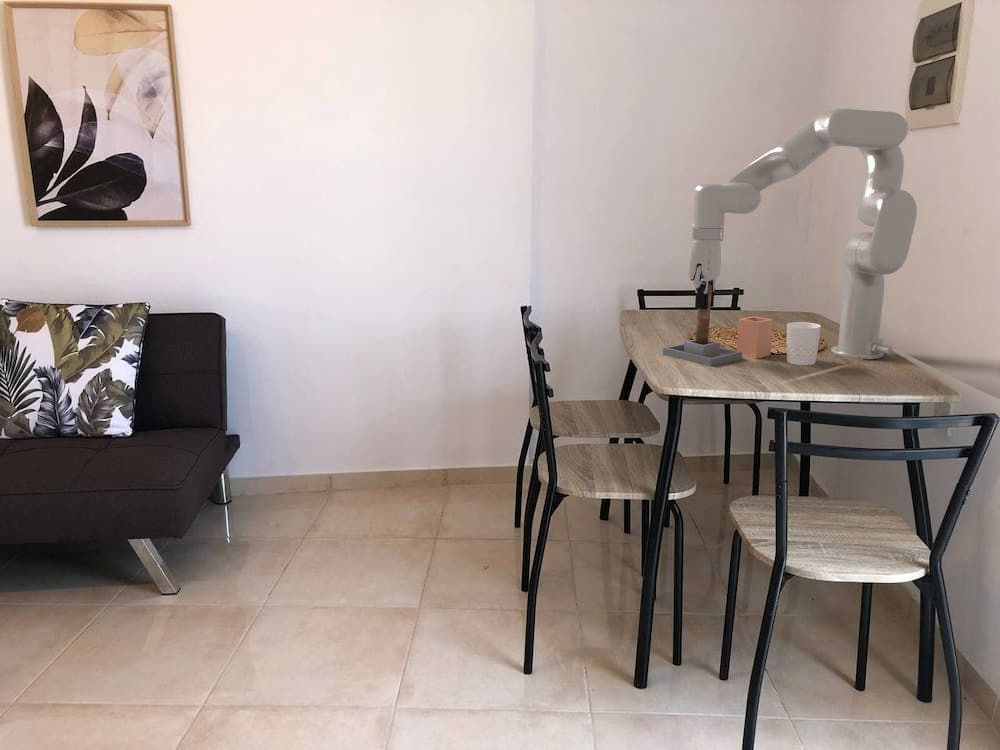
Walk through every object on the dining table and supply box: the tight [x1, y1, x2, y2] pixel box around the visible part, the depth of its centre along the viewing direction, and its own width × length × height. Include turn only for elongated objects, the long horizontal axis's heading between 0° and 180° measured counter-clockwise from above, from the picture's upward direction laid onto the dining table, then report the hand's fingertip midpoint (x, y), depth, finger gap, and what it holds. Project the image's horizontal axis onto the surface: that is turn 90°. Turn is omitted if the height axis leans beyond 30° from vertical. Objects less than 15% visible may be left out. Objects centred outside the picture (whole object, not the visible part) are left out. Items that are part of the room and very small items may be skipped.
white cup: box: [785, 321, 822, 366], centre depth 196 cm, size 8×8×10 cm
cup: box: [736, 316, 774, 359], centre depth 204 cm, size 6×6×10 cm
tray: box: [662, 339, 743, 367], centre depth 203 cm, size 16×12×4 cm
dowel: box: [694, 283, 712, 345], centre depth 201 cm, size 3×3×17 cm
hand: (704, 307), depth 200 cm, fingers closed on dowel, 3 cm apart
